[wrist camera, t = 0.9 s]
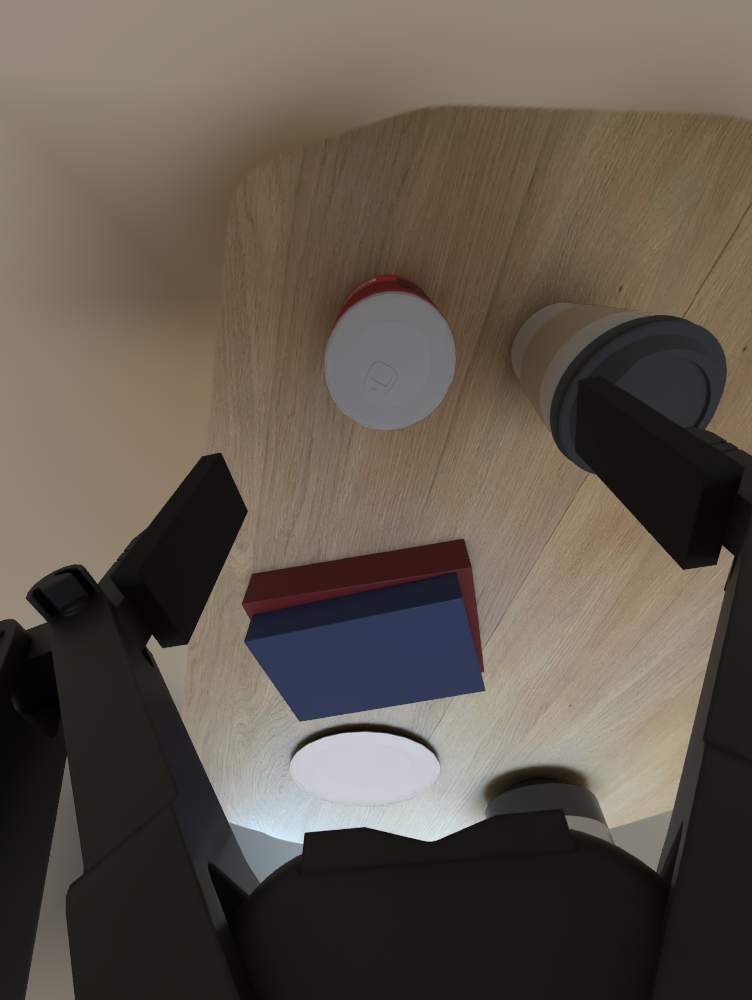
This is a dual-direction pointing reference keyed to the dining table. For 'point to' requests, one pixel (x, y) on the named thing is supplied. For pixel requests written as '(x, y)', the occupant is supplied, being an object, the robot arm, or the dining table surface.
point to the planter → (554, 804)
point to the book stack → (368, 630)
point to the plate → (364, 768)
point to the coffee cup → (617, 364)
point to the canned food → (389, 354)
